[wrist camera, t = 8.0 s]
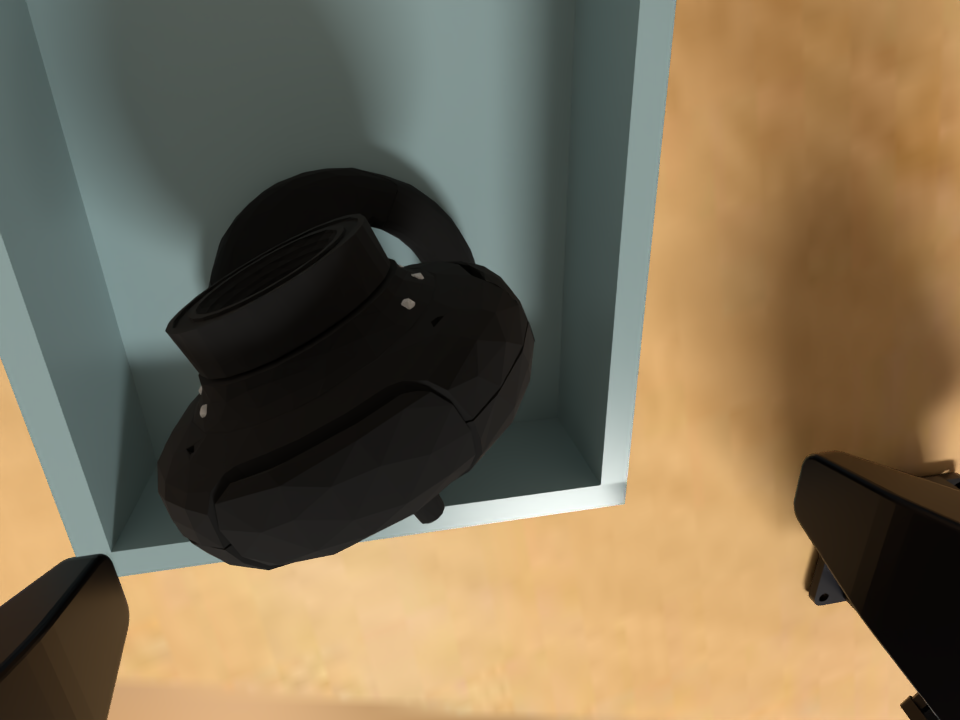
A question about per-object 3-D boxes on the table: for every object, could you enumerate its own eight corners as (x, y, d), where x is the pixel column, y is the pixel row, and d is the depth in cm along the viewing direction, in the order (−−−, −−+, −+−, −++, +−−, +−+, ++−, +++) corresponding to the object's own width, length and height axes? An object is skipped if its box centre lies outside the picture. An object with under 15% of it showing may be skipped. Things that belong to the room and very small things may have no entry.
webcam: (406, 111, 16) (475, 137, 7) (517, 338, 19) (660, 553, 10) (151, 248, 16) (-104, 444, 7) (304, 449, 19) (262, 756, 10)
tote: (569, 420, 22) (624, 503, 18) (145, 470, 20) (85, 581, 15) (620, -563, 12) (771, -930, 8) (-202, -711, 10) (-651, -1362, 6)
